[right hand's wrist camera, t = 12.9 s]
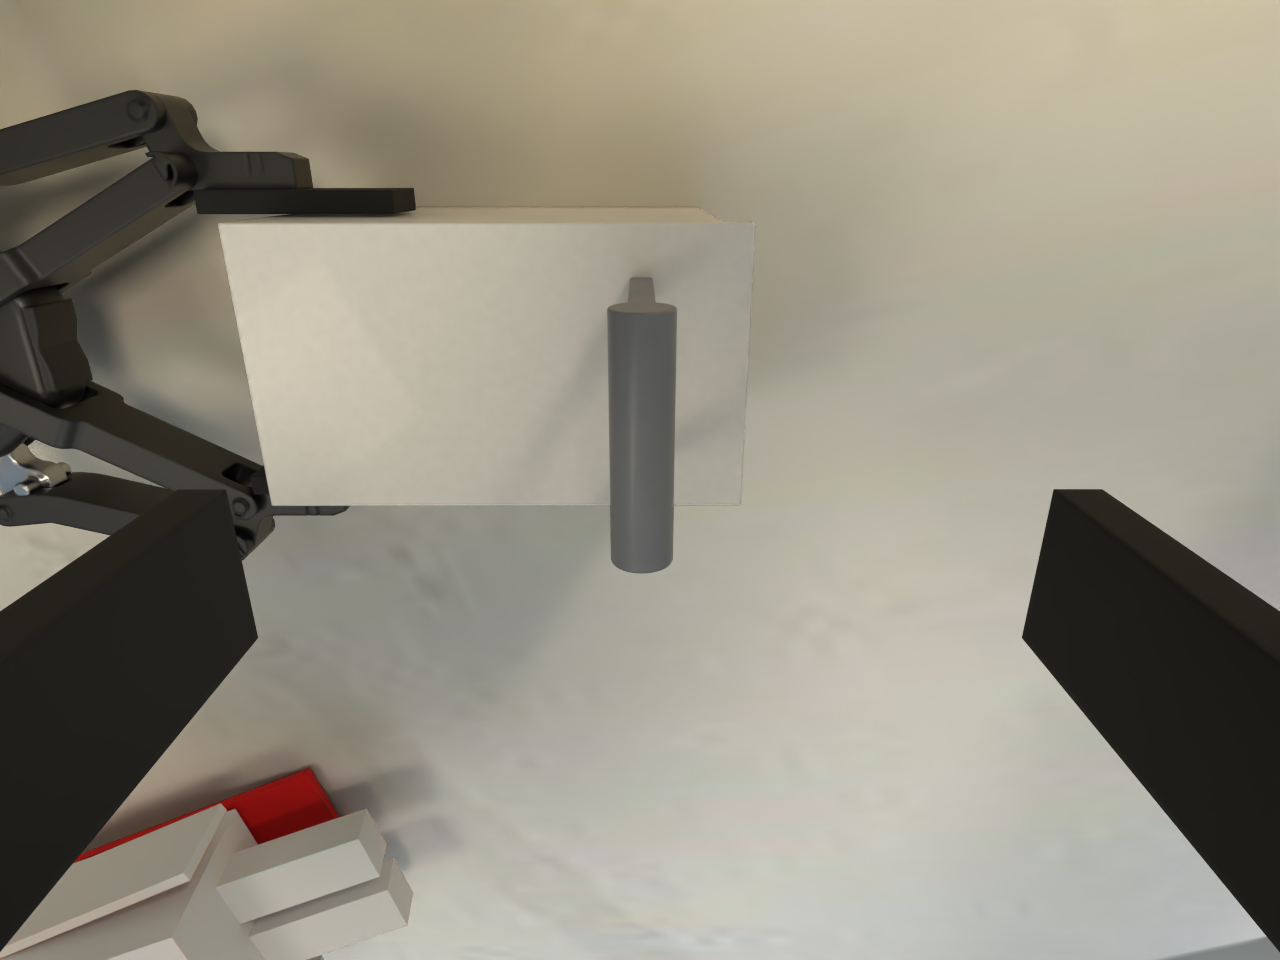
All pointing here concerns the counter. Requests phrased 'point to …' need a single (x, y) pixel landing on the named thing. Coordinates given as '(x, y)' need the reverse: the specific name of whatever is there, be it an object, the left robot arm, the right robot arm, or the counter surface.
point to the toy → (226, 886)
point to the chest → (515, 214)
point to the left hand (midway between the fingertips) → (419, 345)
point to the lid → (500, 365)
